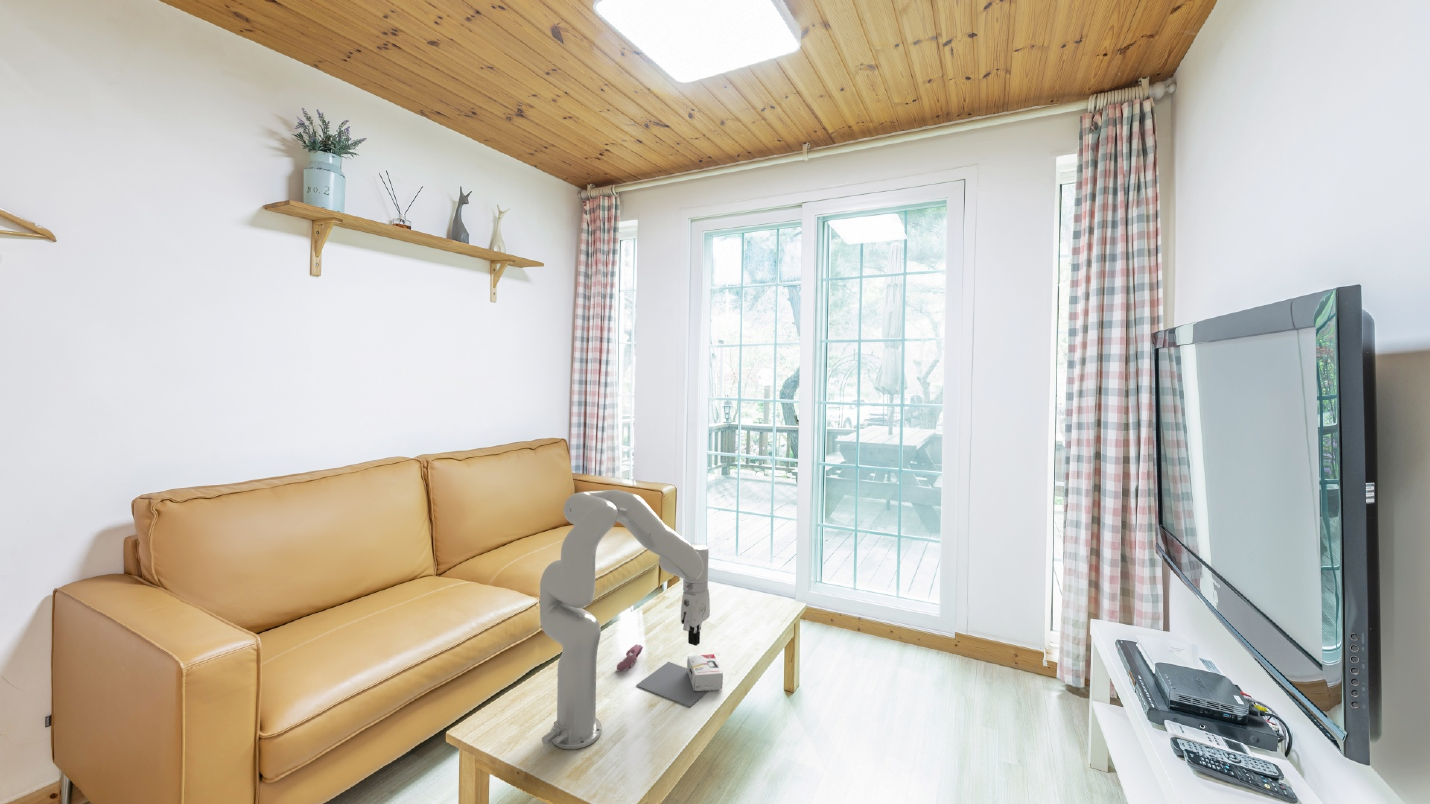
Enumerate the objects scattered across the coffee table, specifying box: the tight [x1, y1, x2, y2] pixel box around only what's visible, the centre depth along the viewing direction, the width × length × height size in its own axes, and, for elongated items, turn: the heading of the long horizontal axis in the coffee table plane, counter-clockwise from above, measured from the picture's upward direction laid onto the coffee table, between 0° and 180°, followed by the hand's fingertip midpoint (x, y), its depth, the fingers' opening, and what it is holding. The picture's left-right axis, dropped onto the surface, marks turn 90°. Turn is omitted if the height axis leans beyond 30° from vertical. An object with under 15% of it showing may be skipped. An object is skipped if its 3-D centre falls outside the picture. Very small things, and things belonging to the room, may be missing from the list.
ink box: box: [686, 653, 724, 691], centre depth 165 cm, size 9×5×12 cm
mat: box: [635, 661, 710, 709], centre depth 164 cm, size 16×19×1 cm
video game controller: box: [616, 643, 644, 672], centre depth 174 cm, size 10×5×7 cm, turn 169°
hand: (693, 643), depth 170 cm, fingers closed
